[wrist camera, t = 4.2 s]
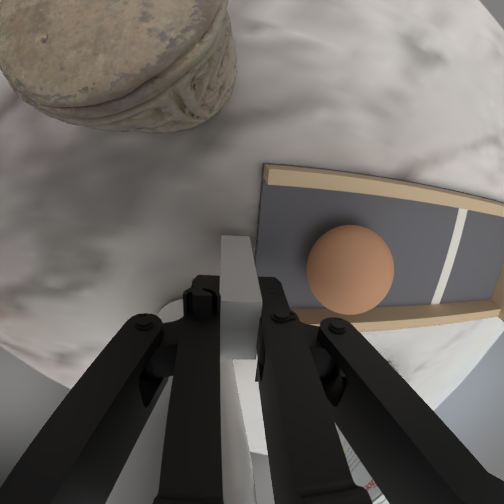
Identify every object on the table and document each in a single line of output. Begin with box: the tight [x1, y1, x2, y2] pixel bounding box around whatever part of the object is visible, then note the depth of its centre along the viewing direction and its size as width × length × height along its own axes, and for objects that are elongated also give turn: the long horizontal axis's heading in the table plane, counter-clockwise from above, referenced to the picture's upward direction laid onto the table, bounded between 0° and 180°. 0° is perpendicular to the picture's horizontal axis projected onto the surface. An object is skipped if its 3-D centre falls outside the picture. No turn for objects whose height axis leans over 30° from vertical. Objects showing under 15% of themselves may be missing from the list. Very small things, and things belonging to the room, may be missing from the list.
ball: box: [306, 225, 394, 315], centre depth 17 cm, size 5×5×5 cm
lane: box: [255, 163, 504, 332], centre depth 18 cm, size 24×10×5 cm, turn 86°
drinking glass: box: [105, 299, 257, 504], centre depth 14 cm, size 7×7×15 cm
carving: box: [0, 0, 237, 133], centre depth 9 cm, size 6×8×12 cm
